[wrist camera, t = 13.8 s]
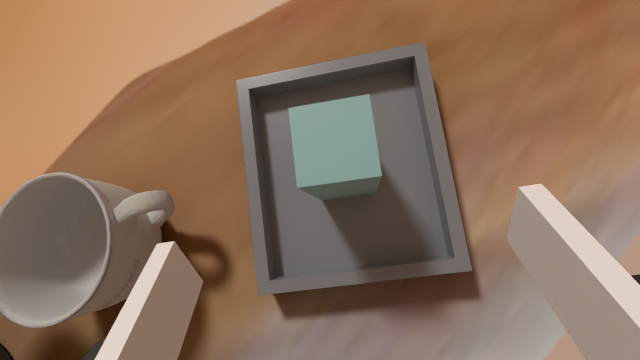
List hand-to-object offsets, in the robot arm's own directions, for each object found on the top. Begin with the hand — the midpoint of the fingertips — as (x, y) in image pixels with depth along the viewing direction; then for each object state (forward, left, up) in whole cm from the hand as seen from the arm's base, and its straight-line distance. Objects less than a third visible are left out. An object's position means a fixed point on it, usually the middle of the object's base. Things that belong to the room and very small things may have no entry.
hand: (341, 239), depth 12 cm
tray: (0, +5, -15) cm, 15 cm away
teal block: (0, +5, -14) cm, 14 cm away
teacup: (-20, +2, -15) cm, 25 cm away
